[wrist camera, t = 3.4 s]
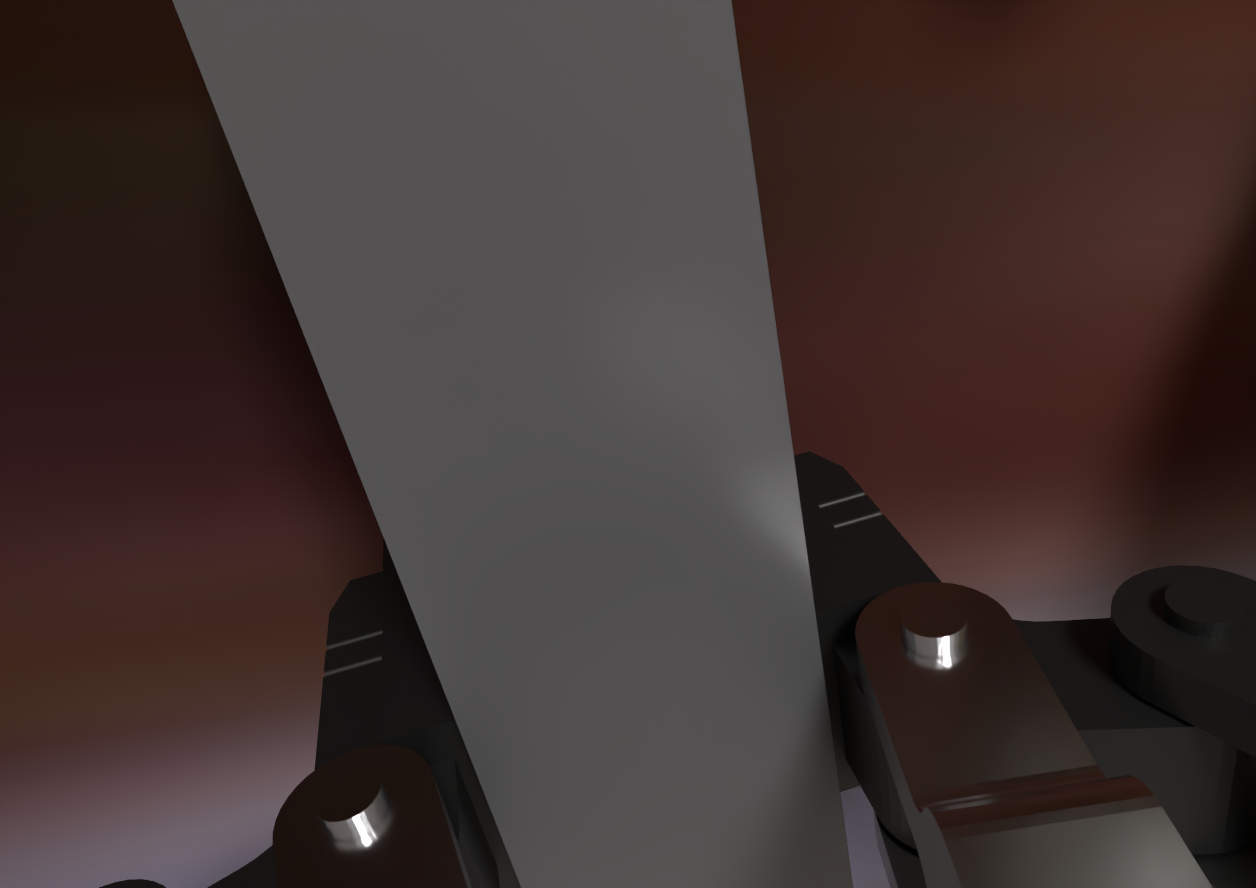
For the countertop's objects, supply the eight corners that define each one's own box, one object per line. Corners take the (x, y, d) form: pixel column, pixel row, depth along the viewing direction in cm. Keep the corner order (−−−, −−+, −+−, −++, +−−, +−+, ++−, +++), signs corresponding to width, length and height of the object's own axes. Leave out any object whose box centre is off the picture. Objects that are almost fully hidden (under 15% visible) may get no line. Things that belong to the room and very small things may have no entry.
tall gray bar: (191, -223, 8) (35, -350, 4) (550, -297, 8) (665, -477, 5) (545, 792, 14) (597, 1082, 10) (748, 728, 14) (867, 989, 11)
